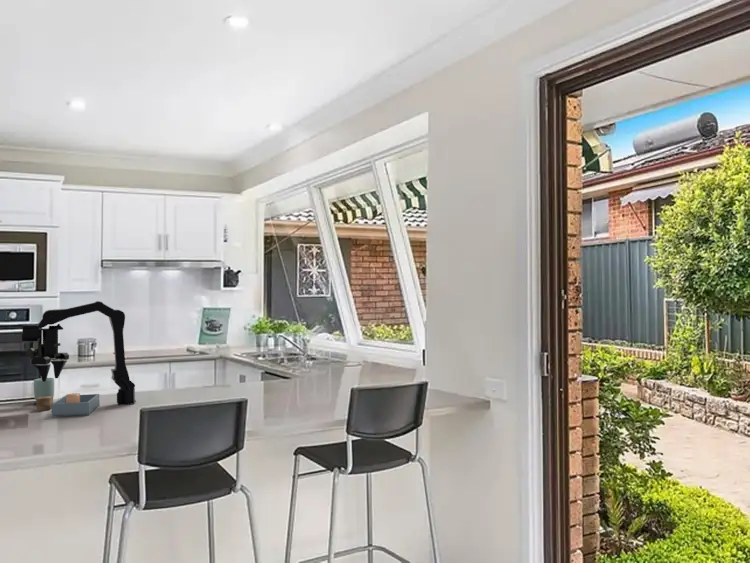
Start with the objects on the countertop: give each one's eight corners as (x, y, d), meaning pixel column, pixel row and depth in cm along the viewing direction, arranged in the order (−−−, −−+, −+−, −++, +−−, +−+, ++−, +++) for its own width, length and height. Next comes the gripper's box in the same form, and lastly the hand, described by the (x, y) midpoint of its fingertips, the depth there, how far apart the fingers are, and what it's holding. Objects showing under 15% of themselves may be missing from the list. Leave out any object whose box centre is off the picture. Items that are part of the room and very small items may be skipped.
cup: (46, 404, 287) (45, 380, 287) (30, 403, 289) (29, 380, 288) (58, 400, 295) (57, 377, 295) (42, 400, 296) (42, 377, 296)
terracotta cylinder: (78, 413, 263) (78, 395, 263) (64, 413, 262) (64, 395, 262) (81, 410, 268) (81, 393, 268) (68, 411, 267) (67, 393, 267)
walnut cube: (53, 408, 278) (53, 396, 278) (49, 410, 273) (49, 398, 273) (40, 408, 277) (39, 396, 277) (36, 411, 272) (36, 398, 272)
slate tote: (99, 405, 281) (99, 393, 281) (88, 415, 262) (88, 402, 262) (65, 407, 278) (64, 395, 278) (51, 417, 259) (51, 404, 259)
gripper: (43, 339, 282) (43, 376, 282) (17, 343, 263) (17, 383, 263) (69, 339, 281) (69, 376, 281) (45, 343, 263) (45, 383, 263)
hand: (50, 379), depth 272 cm, fingers open, 9 cm apart
